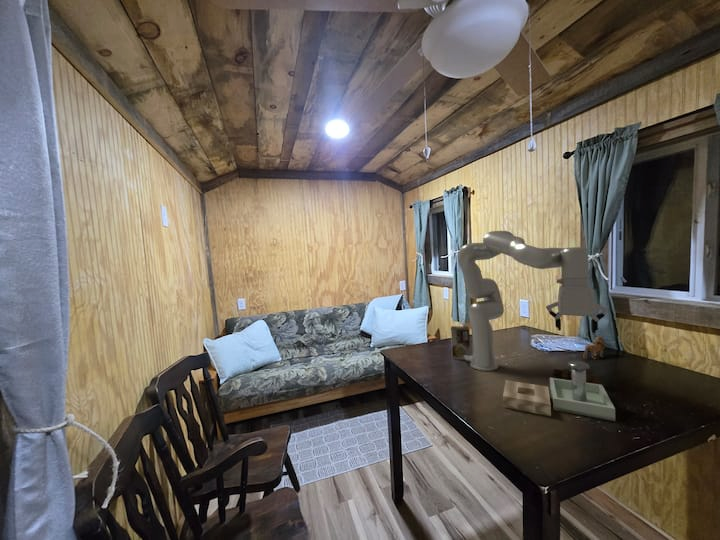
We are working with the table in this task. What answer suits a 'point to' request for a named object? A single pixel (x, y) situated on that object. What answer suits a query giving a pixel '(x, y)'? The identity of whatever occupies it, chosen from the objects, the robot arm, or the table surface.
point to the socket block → (527, 397)
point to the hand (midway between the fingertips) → (575, 330)
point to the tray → (595, 404)
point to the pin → (579, 380)
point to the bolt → (568, 376)
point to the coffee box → (460, 341)
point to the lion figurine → (595, 348)
